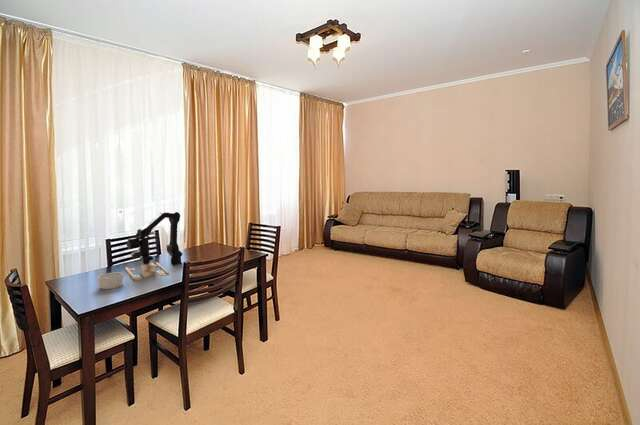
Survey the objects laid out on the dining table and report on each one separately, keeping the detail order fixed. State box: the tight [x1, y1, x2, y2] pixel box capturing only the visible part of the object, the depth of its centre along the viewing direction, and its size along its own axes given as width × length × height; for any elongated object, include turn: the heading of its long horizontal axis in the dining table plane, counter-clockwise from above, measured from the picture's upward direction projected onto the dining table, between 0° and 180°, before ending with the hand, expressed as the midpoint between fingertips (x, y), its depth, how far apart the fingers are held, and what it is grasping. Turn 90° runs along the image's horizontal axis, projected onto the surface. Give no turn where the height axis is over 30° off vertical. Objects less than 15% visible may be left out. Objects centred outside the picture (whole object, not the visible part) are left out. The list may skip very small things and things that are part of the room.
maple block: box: [140, 262, 157, 278], centre depth 226 cm, size 7×7×7 cm
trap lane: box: [125, 261, 170, 282], centre depth 232 cm, size 21×32×2 cm, turn 38°
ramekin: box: [97, 271, 124, 290], centre depth 203 cm, size 13×13×7 cm
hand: (146, 267), depth 233 cm, fingers closed
